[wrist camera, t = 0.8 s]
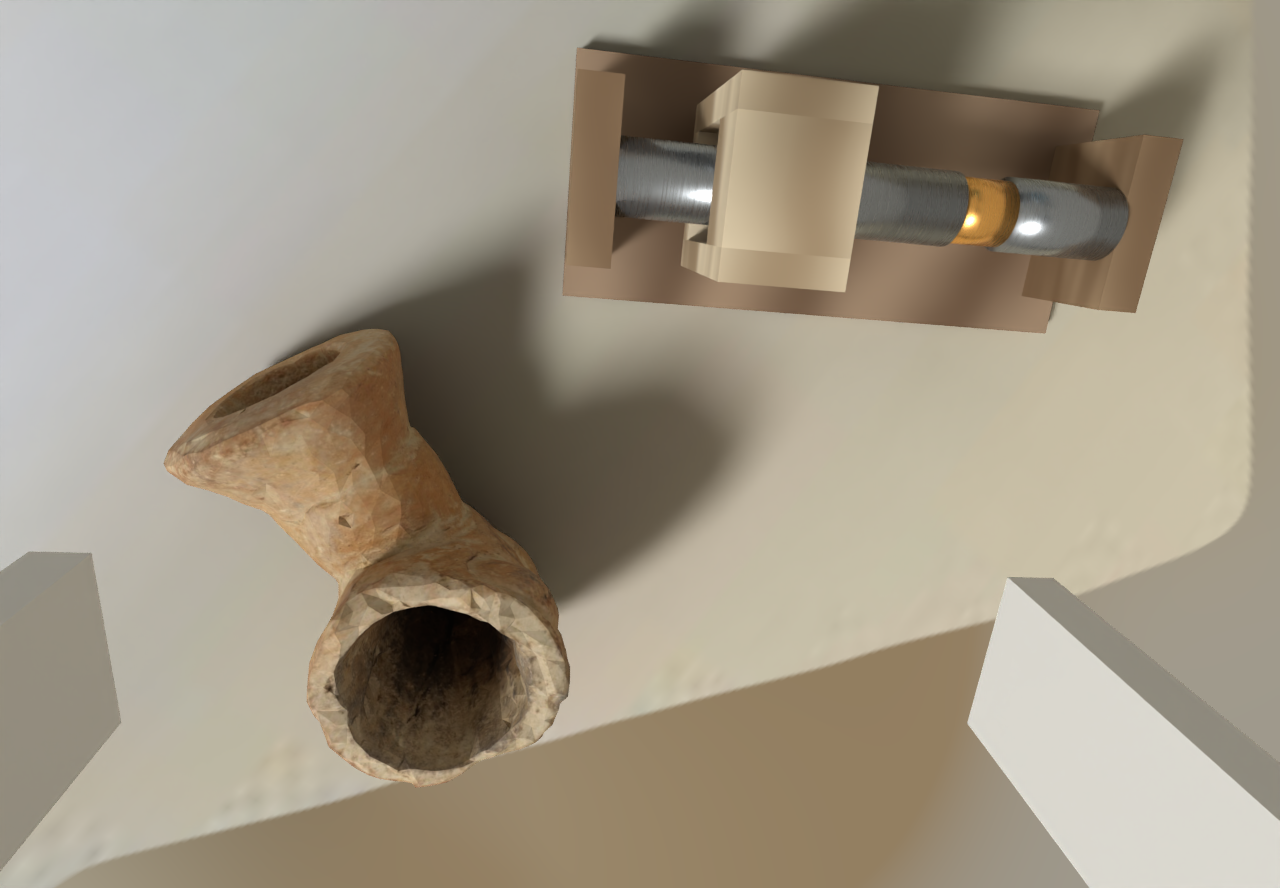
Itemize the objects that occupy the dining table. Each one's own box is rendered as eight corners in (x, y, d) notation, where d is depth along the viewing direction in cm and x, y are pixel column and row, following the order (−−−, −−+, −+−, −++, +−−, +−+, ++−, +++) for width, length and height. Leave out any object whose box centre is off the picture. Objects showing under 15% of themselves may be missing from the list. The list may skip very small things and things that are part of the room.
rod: (610, 216, 27) (615, 216, 24) (615, 138, 26) (621, 131, 24) (1069, 259, 29) (1116, 262, 27) (1086, 188, 28) (1136, 186, 26)
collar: (680, 265, 29) (717, 281, 22) (696, 105, 28) (742, 69, 21) (779, 274, 30) (845, 292, 23) (801, 116, 28) (879, 85, 21)
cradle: (562, 293, 31) (563, 310, 25) (576, 52, 28) (580, 14, 23) (1034, 330, 33) (1124, 352, 28) (1086, 112, 31) (1196, 92, 25)
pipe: (391, 285, 30) (313, 319, 21) (607, 583, 35) (625, 721, 25) (210, 405, 31) (54, 491, 21) (447, 680, 36) (407, 850, 26)
